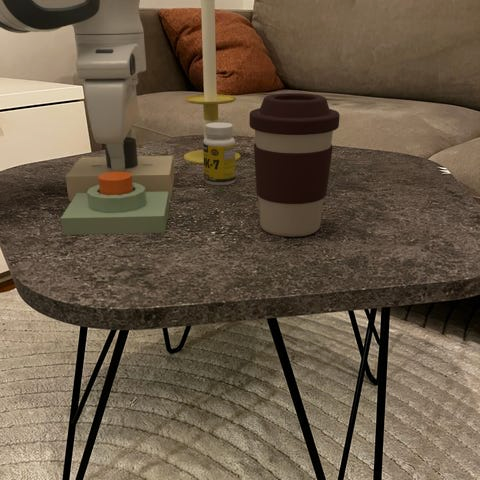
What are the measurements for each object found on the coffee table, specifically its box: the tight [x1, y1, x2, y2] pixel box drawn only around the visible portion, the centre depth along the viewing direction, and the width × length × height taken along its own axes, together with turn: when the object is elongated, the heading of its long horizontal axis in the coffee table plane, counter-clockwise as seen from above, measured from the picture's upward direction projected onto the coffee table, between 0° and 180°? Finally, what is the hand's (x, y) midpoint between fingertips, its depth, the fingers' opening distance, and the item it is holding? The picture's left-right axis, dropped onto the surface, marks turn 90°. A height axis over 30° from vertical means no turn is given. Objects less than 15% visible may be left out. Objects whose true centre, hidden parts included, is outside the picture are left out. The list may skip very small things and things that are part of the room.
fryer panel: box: [65, 155, 175, 202], centre depth 86 cm, size 14×11×4 cm
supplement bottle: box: [202, 122, 236, 186], centre depth 88 cm, size 5×5×8 cm
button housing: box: [60, 183, 171, 236], centre depth 73 cm, size 12×10×4 cm
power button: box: [98, 172, 133, 195], centre depth 72 cm, size 4×4×2 cm
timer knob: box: [104, 137, 138, 169], centre depth 84 cm, size 4×4×4 cm
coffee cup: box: [249, 92, 341, 238], centre depth 68 cm, size 10×10×15 cm
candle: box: [183, 0, 241, 165], centre depth 97 cm, size 10×10×27 cm
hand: (122, 162), depth 85 cm, fingers open, 6 cm apart
